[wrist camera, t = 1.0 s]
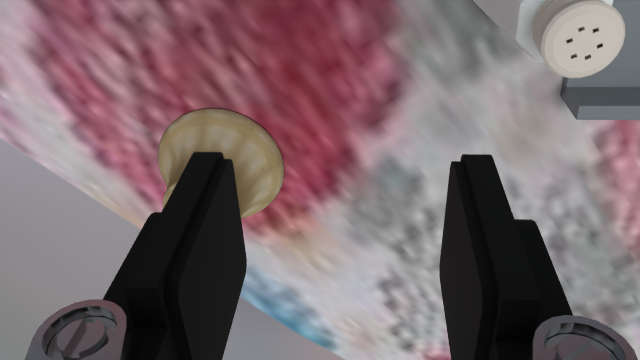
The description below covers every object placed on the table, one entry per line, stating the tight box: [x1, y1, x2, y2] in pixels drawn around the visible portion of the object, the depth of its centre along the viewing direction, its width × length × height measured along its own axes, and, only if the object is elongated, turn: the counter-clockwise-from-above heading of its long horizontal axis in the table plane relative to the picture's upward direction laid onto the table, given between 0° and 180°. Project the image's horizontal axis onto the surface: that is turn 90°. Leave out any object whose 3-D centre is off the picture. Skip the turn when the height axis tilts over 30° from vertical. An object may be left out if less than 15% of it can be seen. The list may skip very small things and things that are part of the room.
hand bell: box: [158, 108, 284, 218], centre depth 30 cm, size 8×8×16 cm
